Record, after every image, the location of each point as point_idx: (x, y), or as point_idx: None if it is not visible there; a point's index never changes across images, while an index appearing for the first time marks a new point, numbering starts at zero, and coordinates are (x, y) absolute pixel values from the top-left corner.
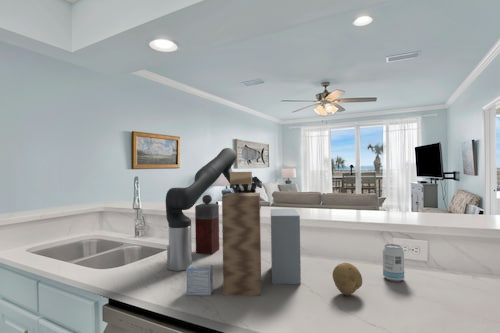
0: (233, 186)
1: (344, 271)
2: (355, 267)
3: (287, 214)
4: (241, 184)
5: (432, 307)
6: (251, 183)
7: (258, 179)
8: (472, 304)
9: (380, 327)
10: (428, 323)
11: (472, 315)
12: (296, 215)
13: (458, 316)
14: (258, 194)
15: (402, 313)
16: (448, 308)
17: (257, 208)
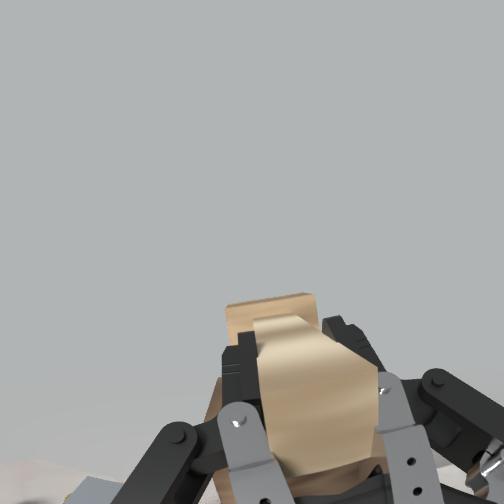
0: (466, 469)
1: None
2: (69, 494)
3: (111, 498)
4: (363, 467)
5: (38, 483)
6: None
7: (137, 475)
8: (4, 472)
9: (119, 479)
10: (72, 473)
11: (27, 467)
12: (94, 479)
13: (38, 470)
14: (215, 396)
15: (76, 487)
16: (29, 477)
17: None
